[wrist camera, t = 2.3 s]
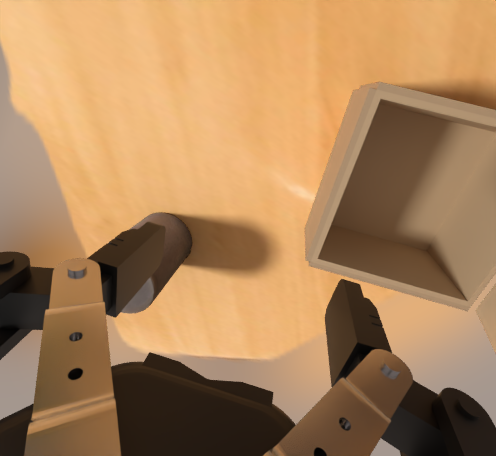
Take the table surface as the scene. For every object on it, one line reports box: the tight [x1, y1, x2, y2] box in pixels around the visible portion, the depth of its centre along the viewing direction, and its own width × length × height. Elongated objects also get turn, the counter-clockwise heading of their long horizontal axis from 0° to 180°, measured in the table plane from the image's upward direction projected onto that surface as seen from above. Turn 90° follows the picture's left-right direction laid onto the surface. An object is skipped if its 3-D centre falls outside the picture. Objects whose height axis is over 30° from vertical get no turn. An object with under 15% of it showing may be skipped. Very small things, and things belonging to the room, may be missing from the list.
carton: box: [305, 82, 496, 311], centre depth 33 cm, size 19×19×12 cm
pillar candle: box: [121, 213, 192, 313], centre depth 42 cm, size 10×10×15 cm
